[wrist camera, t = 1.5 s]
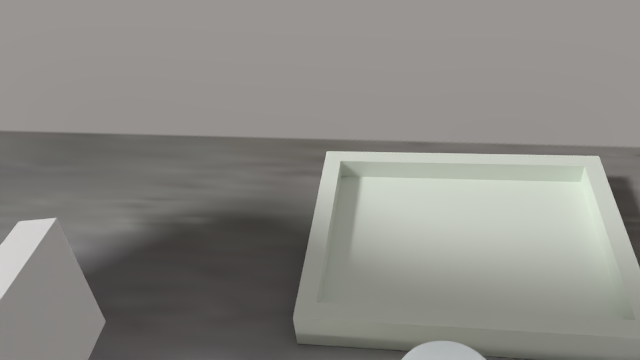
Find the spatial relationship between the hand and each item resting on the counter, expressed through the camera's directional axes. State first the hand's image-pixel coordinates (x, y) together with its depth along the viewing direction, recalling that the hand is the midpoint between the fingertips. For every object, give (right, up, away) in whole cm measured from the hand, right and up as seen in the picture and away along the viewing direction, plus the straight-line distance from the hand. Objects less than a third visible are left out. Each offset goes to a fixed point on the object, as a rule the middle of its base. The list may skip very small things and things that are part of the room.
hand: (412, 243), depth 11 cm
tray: (+8, -4, +30) cm, 31 cm away
